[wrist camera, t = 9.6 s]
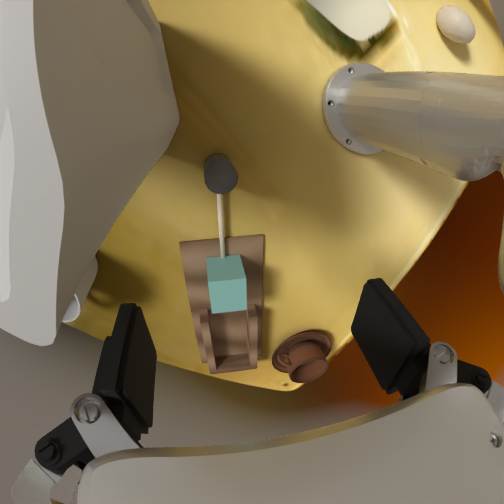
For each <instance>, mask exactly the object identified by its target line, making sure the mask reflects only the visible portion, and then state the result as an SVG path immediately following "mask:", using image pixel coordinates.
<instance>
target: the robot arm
mask: <svg viewBox="0 0 504 504" xmlns="http://www.w3.org/2000/svg"><path fill="white" fill-rule="evenodd" d="M348 70H349V71H348ZM328 101H329V103H330V104H329V105H328ZM322 109H323V116H324V119H325V123H326V125H327V127H328V129H329V131H330V132H331V134H332V135H333V137H334V138H335V139H336V140H337V141H338V142H339V143H340V144H341V145H342V146H344V147H345V148H347V149H349V150H351V151H354V152H357V153H360V154H376V153H379V152H381V151H383V150H386V151H389V152H392V153H395V154H397V155H400V156H403V157H405V158H408V159H410V160H413V161H415V162H418V163H420V164H423V165H425V166H428V167H430V168H432V169H435V170H437V171H439V172H441V173H444V174H446V175H448V176H451V177H453V178H456V179H459V180H463V181H474V180H479V179H481V178H484V177H485V176H487V175H489V174H490V173H492V172H493V171H495V170H499V171H500V172H501V173H502V174H503V177H504V76H492V75H477V74H465V73H452V72H428V71H404V72H384V71H383V70H381V69H380V68H378V67H376V66H374V65H371V64H366V63H353V64H349V65H346V66H344V67H341V68H339V69H338V70H337V71H336V72H334V73H333V75H332V76H331V77H330V78H329V80H328V82H327V84H326V86H325V89H324V92H323V98H322ZM346 140H347V142H346ZM498 275H499V280H500V285H501V288H502V291H503V293H504V218H503V227H502V235H501V244H500V250H499V259H498ZM351 332H352V334H353V336H354V338H355V340H356V342H357V343H358V345H359V347H360V349H361V351H362V352H363V354H364V356H365V358H366V360H367V362H368V364H369V365H370V367H371V369H372V371H373V373H374V375H375V376H376V378H377V380H378V382H379V384H380V386H381V387H382V389H384V390H386V392H387V394H391V393H394V392H396V391H399V392H400V397H399V401H398V403H395V404H393V405H390V406H388V407H385V408H383V409H380V410H378V411H374V412H372V413H369V414H366V415H363V416H360V417H357V418H354V419H350V420H348V421H344V422H341V423H337V424H334V425H330V426H326V427H323V428H319V429H315V430H310V431H306V432H302V433H298V434H293V435H288V436H282V437H277V438H271V439H265V440H259V441H252V442H244V443H235V444H225V445H213V446H198V447H164V448H144V447H143V446H142V444H141V443H140V442H139V440H140V439H141V433H142V434H143V433H144V434H148V427H152V423H153V401H154V385H155V371H156V360H157V354H156V349H155V347H154V344H153V341H152V338H151V336H150V333H149V330H148V327H147V324H146V321H145V319H144V316H143V312H142V309H141V307H137V306H136V304H135V303H126V304H121V305H120V308H119V311H118V315H117V318H116V322H115V325H114V329H113V332H112V336H107V337H106V339H105V341H104V345H103V349H102V352H101V356H100V360H99V364H98V368H97V372H96V377H95V381H94V386H93V391H92V394H91V393H87V394H83V395H80V396H79V397H77V398H76V399H75V400H74V402H73V403H72V406H71V409H70V414H71V417H70V418H69V419H67V420H66V421H64V422H63V423H62V424H60V425H59V426H57V427H56V428H55V429H53V430H52V431H51V432H49V433H48V434H46V435H45V436H43V437H42V438H41V439H40V440H39V441H38V442H37V444H36V447H35V457H36V458H35V459H34V460H32V459H30V461H29V462H28V464H27V465H26V467H25V468H24V469H23V471H22V472H21V474H20V475H19V477H18V478H17V480H16V481H15V483H14V484H13V486H12V489H11V495H12V499H13V501H14V502H15V504H71V503H70V501H71V498H72V496H73V494H74V493H75V492H74V491H73V490H74V488H75V487H76V485H77V484H79V488H78V497H77V504H504V388H503V387H502V386H500V385H499V384H497V383H496V382H494V381H493V382H492V383H491V378H490V376H489V374H488V372H487V371H486V370H484V369H483V368H481V367H478V366H475V365H472V364H469V363H466V362H463V361H461V360H458V359H457V355H456V352H455V350H454V349H453V348H452V347H451V346H450V345H449V344H447V343H445V342H436V343H434V344H432V346H431V345H430V344H429V342H430V339H429V338H428V336H427V335H426V334H425V332H424V331H423V330H422V328H421V327H420V326H419V324H418V323H417V322H416V320H415V319H414V318H413V317H412V315H411V314H410V313H409V311H408V310H407V309H406V308H405V306H404V305H403V304H402V303H401V301H400V300H399V299H398V298H397V296H396V295H395V294H394V293H393V291H392V290H391V289H390V288H389V287H388V285H387V284H386V283H385V282H384V281H383V280H382V279H381V278H376V279H370V280H368V281H367V283H366V284H365V285H364V287H363V291H362V294H361V297H360V301H359V304H358V307H357V310H356V314H355V317H354V320H353V323H352V326H351Z"/></svg>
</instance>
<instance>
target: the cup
mask: <svg viewBox="0 0 504 504" xmlns="http://www.w3.org/2000/svg"><path fill="white" fill-rule="evenodd" d="M97 272H98V263H97V259H96V257H95V256H94V258H93V260H92V262H91V263H90V265H89V267H88V269H87V271H86V273H85V275H84V277H83V278H82V280H81V282H80V284H79V286H78V288H77V290H76V292H75V294H74V296H73V298H72V300H71V302H70V305H69V307H68V309H67V311H66V313H65V315H64V318H63V320H62V322H71V321H73V320H75V319H76V318H77V317H78V316H79V314H80V311H81V309H82V306H83V304H84V302H85V299H86V297H87V295H88V293H89V290H90V288H91V286H92V284H93V282H94V279H95V277H96V274H97Z"/></svg>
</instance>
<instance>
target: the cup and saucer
mask: <svg viewBox="0 0 504 504" xmlns="http://www.w3.org/2000/svg"><path fill="white" fill-rule="evenodd" d="M331 347H332V343H331V340H330V338H329V337H328V336H327V335H325V334H323V333H320V332H304V333H300V334H297V335H294V336H292V337H290V338H288V339H287V340H285V341H284V342H282V343H281V344H280V345H279V346H278V347H277V348H276V350H275V351H274V353H273V356H272V364H273V366H274V368H275V369H277V370H278V371H280V372H284V373H289V376H290V379H291V380H292V381H293V382H296V383H305V382H309V381H312V380H315V379H317V378H318V377H320V376H321V375H323V374H324V373H325V371H326V370H327V368H328V363H327V361H326V359H325V358H326V357H327V355H328V354H329V352H330V350H331Z"/></svg>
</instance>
